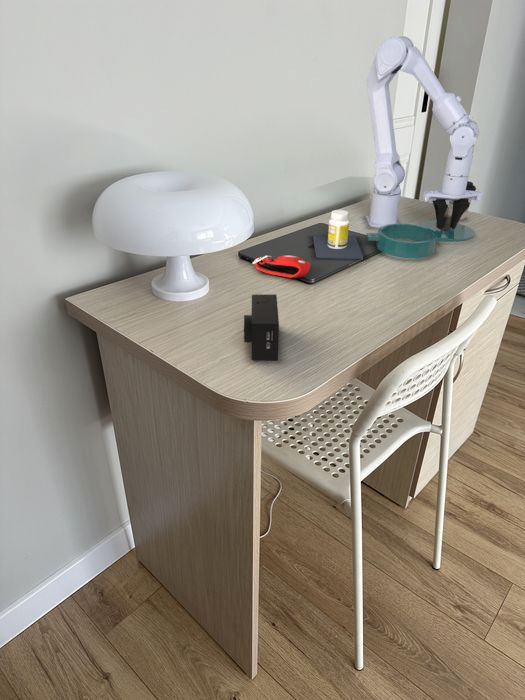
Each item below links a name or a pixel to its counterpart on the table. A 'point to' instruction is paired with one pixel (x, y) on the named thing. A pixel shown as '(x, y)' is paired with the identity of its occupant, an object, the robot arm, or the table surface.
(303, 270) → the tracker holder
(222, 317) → the table surface
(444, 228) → the pot lid
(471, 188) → the coffee cup
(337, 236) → the supplement bottle
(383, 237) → the pot
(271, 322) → the digital camera
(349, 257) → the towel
